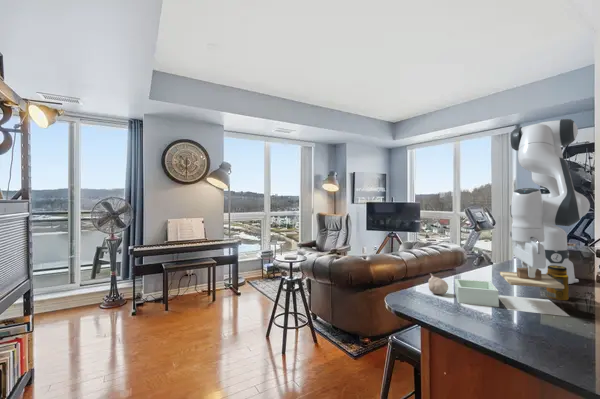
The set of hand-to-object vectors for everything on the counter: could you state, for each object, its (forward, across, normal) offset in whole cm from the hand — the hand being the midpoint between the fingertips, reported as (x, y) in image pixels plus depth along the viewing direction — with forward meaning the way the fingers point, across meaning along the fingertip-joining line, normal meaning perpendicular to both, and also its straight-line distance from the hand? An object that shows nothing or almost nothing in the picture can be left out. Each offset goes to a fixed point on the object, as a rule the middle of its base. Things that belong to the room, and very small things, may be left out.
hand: (528, 275), depth 99 cm
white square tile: (+10, -1, 0) cm, 11 cm away
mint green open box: (+10, -1, +16) cm, 19 cm away
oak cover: (+2, 0, 0) cm, 2 cm away
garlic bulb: (+10, +3, +28) cm, 30 cm away
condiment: (+11, +10, -11) cm, 19 cm away
